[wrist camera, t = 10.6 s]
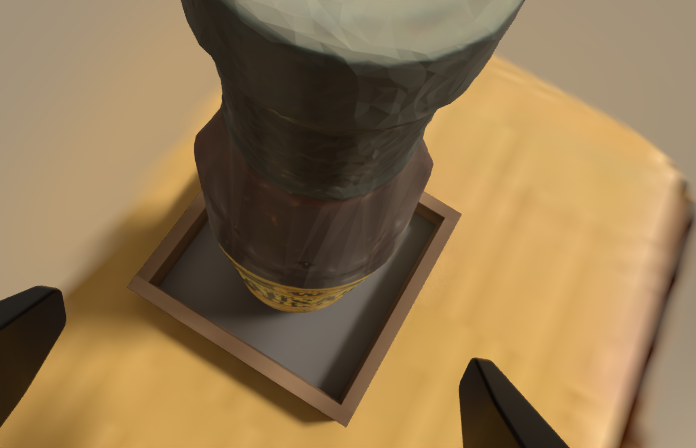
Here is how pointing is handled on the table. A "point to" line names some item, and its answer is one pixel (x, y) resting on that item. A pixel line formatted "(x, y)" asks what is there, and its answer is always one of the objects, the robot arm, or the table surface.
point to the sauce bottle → (327, 130)
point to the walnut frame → (295, 328)
